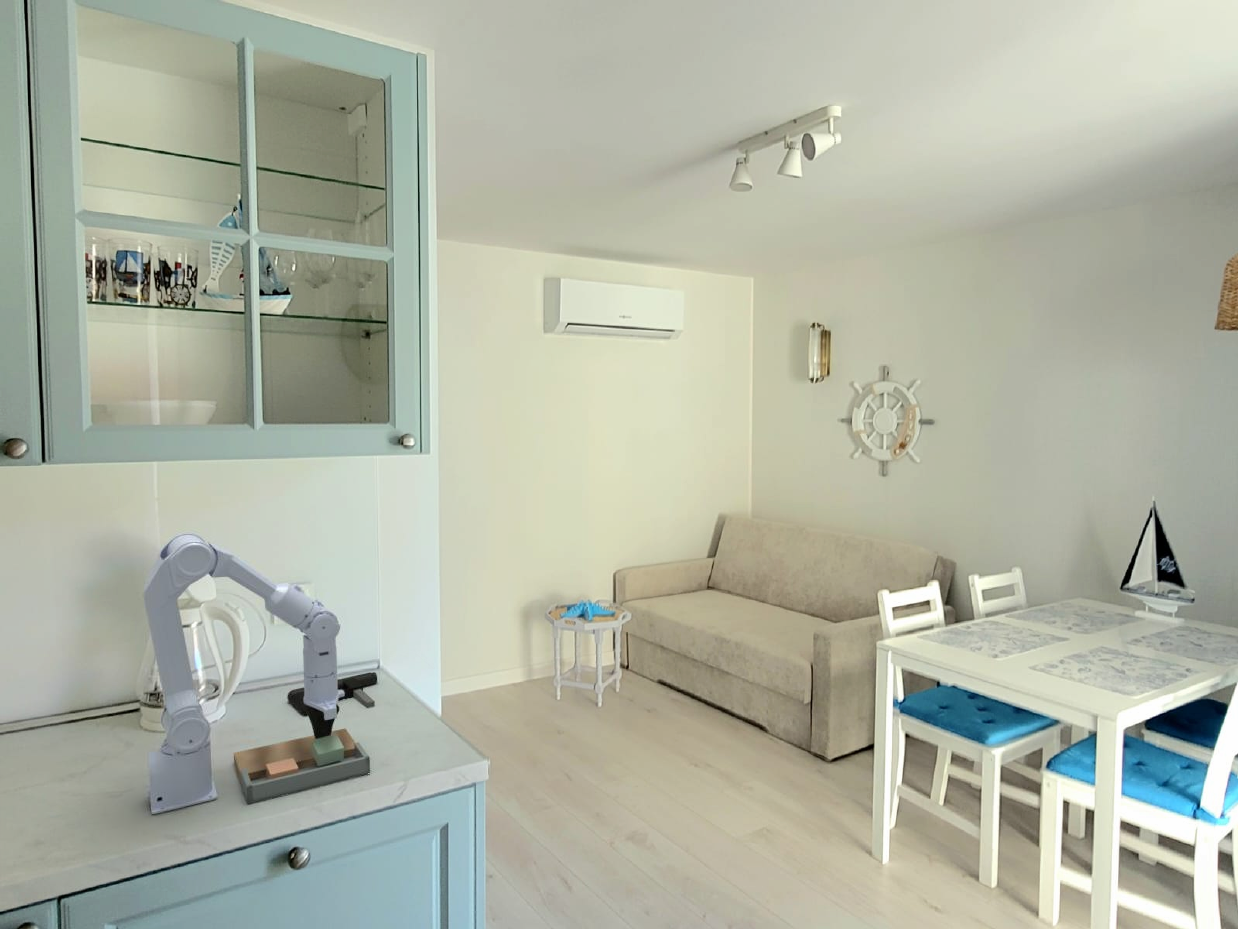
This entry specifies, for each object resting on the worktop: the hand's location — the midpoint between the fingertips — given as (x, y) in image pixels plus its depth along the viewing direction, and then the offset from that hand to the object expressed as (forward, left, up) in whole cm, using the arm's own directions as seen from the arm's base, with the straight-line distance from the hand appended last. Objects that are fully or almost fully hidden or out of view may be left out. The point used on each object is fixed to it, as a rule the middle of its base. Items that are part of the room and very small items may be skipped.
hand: (323, 743), depth 145 cm
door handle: (+10, +28, -4) cm, 30 cm away
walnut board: (-4, +3, -3) cm, 6 cm away
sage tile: (0, -2, -1) cm, 3 cm away
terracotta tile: (-8, -5, -3) cm, 10 cm away
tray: (-4, -6, -3) cm, 8 cm away
